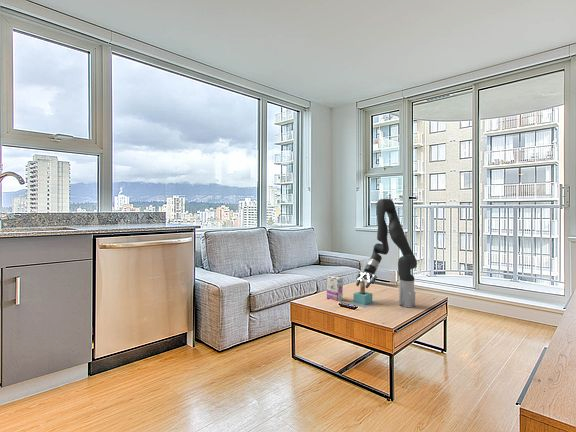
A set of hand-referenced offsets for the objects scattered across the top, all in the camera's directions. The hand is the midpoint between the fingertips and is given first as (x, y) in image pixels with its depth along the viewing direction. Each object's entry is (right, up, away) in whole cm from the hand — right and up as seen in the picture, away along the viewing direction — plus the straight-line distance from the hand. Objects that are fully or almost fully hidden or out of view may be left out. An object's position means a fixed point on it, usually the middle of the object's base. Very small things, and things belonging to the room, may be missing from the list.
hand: (361, 286), depth 225 cm
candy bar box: (-17, -12, +9) cm, 23 cm away
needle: (+1, -11, +1) cm, 11 cm away
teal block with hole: (+1, -11, +1) cm, 11 cm away
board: (+1, -12, 0) cm, 12 cm away
